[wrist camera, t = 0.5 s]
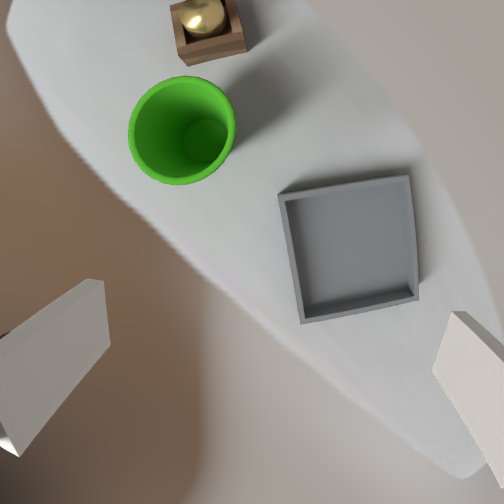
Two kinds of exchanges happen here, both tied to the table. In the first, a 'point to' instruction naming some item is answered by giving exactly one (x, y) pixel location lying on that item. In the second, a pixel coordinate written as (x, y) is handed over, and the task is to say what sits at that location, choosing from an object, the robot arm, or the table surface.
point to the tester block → (213, 47)
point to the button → (203, 18)
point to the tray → (351, 247)
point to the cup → (182, 130)
